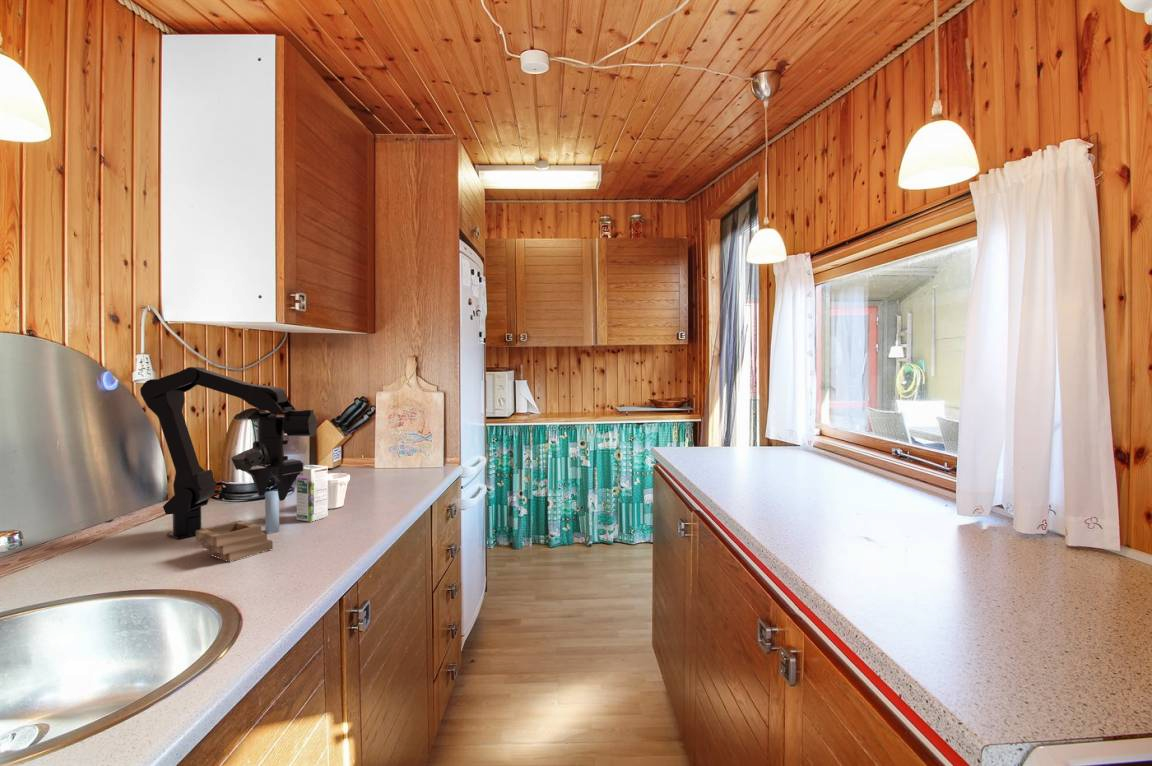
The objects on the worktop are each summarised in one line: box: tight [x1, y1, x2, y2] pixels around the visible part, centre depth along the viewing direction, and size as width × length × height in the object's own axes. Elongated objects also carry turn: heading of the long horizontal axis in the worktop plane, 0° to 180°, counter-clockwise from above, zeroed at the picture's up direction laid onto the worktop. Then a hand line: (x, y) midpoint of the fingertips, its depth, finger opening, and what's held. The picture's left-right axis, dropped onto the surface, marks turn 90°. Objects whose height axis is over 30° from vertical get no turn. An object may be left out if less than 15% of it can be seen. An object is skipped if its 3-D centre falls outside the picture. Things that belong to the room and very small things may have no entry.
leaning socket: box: [195, 520, 274, 562], centre depth 114 cm, size 9×11×6 cm
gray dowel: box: [264, 490, 280, 533], centre depth 130 cm, size 3×3×10 cm
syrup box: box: [296, 464, 329, 523], centre depth 141 cm, size 6×6×14 cm
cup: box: [328, 472, 351, 510], centre depth 153 cm, size 10×10×9 cm
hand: (271, 497), depth 130 cm, fingers open, 9 cm apart
